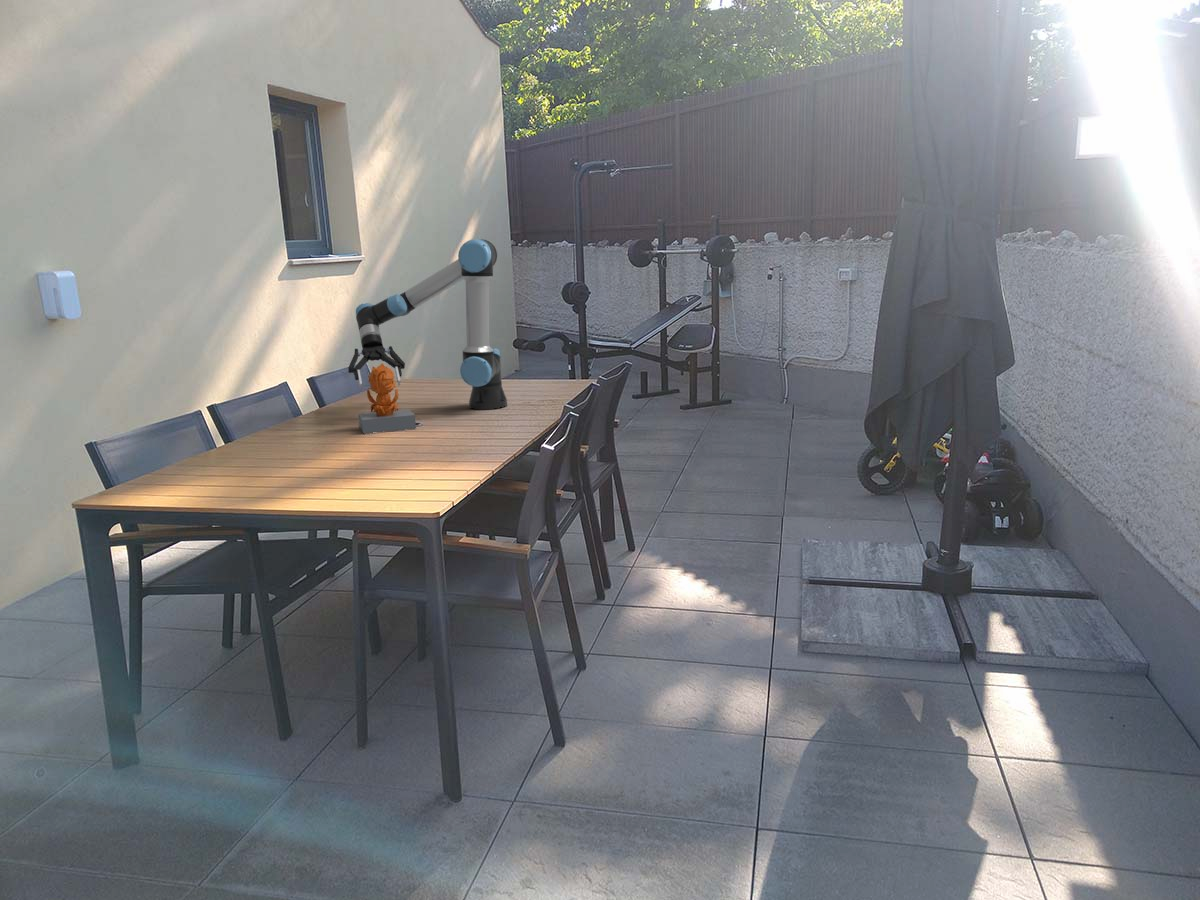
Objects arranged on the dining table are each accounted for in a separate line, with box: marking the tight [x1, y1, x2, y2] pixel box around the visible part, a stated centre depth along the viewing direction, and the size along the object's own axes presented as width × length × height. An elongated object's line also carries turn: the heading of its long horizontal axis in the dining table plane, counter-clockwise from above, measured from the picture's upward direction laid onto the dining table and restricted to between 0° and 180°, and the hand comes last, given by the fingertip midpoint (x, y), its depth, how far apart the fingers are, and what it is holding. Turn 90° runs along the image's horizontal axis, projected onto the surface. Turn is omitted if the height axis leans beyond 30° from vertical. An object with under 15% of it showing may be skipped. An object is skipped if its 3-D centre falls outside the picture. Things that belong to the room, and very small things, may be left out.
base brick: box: [357, 408, 417, 435], centre depth 321 cm, size 18×14×5 cm
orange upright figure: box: [366, 363, 399, 416], centre depth 318 cm, size 11×11×18 cm
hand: (380, 384), depth 327 cm, fingers open, 13 cm apart
